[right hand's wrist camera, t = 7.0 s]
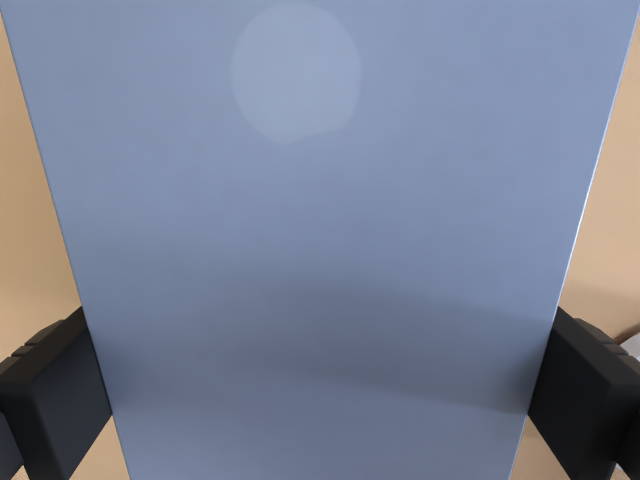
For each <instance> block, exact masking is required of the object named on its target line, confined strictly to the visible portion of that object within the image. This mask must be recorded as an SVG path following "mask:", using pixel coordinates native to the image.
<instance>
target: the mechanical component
mask: <svg viewBox="0 0 640 480" xmlns="http://www.w3.org/2000/svg"><path fill="white" fill-rule="evenodd" d="M620 346H621V347H622V348H623V349H625V350H626V351H627V352H628V353H629V356H633V357H635V358H636V359H637V360H638V361H640V333H639V334H636V335H634V336H632V337H631V338H629V339H628V340H626V341H625V342H623V343H622V344H621V345H620ZM615 468H617V469H620V470H622V468H621V467H620V466H619V465H618V464H616V466H615ZM622 471H623V470H622Z"/></svg>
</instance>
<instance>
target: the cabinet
mask: <svg viewBox="0 0 640 480" xmlns="http://www.w3.org/2000/svg"><path fill="white" fill-rule="evenodd" d="M0 12H1V16H2V19H3V23H4V27H5V30H6V34H7V37H8V41H9V45H10V48H11V52H12V55H13V59H14V63H15V66H16V70H17V73H18V77H19V81H20V84H21V88H22V91H23V95H24V99H25V102H26V106H27V109H28V113H29V117H30V120H31V124H32V127H33V131H34V135H35V138H36V142H37V145H38V149H39V153H40V156H41V160H42V163H43V167H44V171H45V174H46V178H47V181H48V185H49V189H50V192H51V196H52V199H53V203H54V207H55V210H56V214H57V217H58V221H59V225H60V228H61V232H62V235H63V239H64V243H65V246H66V250H67V253H68V257H69V261H70V264H71V268H72V271H73V275H74V279H75V282H76V286H77V289H78V293H79V297H80V300H81V304H82V307H83V311H84V315H85V318H86V322H87V326H88V329H89V333H90V336H91V340H92V344H93V347H94V351H95V354H96V358H97V362H98V365H99V369H100V372H101V376H102V380H103V383H104V387H105V390H106V394H107V398H108V401H109V405H110V408H111V412H112V416H113V419H114V423H115V426H116V430H117V434H118V437H119V441H120V444H121V448H122V452H123V455H124V459H125V462H126V466H127V470H128V473H129V477H130V480H509V479H510V476H511V472H512V469H513V465H514V461H515V458H516V454H517V451H518V447H519V443H520V440H521V436H522V433H523V429H524V425H525V422H526V418H527V415H528V411H529V407H530V404H531V400H532V397H533V393H534V390H535V386H536V382H537V379H538V375H539V372H540V368H541V364H542V361H543V357H544V354H545V350H546V346H547V343H548V339H549V336H550V332H551V328H552V325H553V321H554V318H555V314H556V310H557V307H558V303H559V300H560V296H561V292H562V289H563V285H564V282H565V278H566V274H567V271H568V267H569V264H570V260H571V256H572V253H573V249H574V246H575V242H576V239H577V235H578V231H579V228H580V224H581V221H582V217H583V213H584V210H585V206H586V203H587V199H588V195H589V192H590V188H591V185H592V181H593V177H594V174H595V170H596V167H597V163H598V159H599V156H600V152H601V149H602V145H603V141H604V138H605V134H606V131H607V127H608V123H609V120H610V116H611V113H612V109H613V105H614V102H615V98H616V95H617V91H618V88H619V84H620V80H621V77H622V73H623V70H624V66H625V62H626V59H627V55H628V52H629V48H630V44H631V41H632V37H633V34H634V30H635V26H636V23H637V19H638V16H639V12H640V0H0Z"/></svg>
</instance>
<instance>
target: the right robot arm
mask: <svg viewBox="0 0 640 480" xmlns="http://www.w3.org/2000/svg"><path fill="white" fill-rule="evenodd" d="M111 416H112V412H111V408H110V405H109V401H108V398H107V394H106V390H105V387H104V383H103V380H102V376H101V372H100V369H99V365H98V362H97V358H96V354H95V351H94V347H93V344H92V340H91V336H90V333H89V329H88V326H87V322H86V318H85V315H84V311H83V307H82V306H80V307H79V308H78V309H77V310H76V311H75V312H73V313H72V314H71V315H70V316H69V317H68V318H66V319H65V320H59V321H57V322H56V323H54V324H52V325H50V326H48V327H46V328H44V329H42V330H40V331H39V332H38V333H37V334H35V335H34V336H33V337H32V338H31V339H29V340H28V341H27V342H26V343H25V345H24V346H21V347H20V348H18V349H17V350H16V351H15V352H13V353H12V354H11V357H7V358H6V359H5V360H4V361H2V362H1V363H0V480H11V479H12V477H13V476H14V475H15V474H16V472H17V471H18V470H19V469H20V468H21V466H22V465H24V468H25V470H26V472H27V475H28V477H29V479H30V480H69V479H70V477H71V476H72V474H73V473H74V471H75V470H76V468H77V467H78V465H79V464H80V462H81V461H82V459H83V458H84V456H85V455H86V453H87V452H88V450H89V449H90V447H91V446H92V444H93V443H94V441H95V440H96V438H97V437H98V435H99V434H100V432H101V431H102V429H103V428H104V426H105V425H106V423H107V422H108V420H109V419H110V417H111ZM528 416H529V418H530V419H531V421H532V422H533V424H534V425H535V427H536V428H537V430H538V431H539V433H540V434H541V436H542V437H543V439H544V440H545V442H546V443H547V445H548V446H549V448H550V449H551V451H552V452H553V454H554V455H555V457H556V458H557V460H558V461H559V463H560V464H561V466H562V467H563V469H564V470H565V472H566V473H567V475H568V476H569V478H570V479H571V480H610V478H611V476H612V473H613V471H614V469H615V466H616V464H618V465H619V466H620V467H621V468H622V470H623V471H624V472H625V473H626V474H627V476H628V477H629V478H630V479H631V480H640V361H638V360H637V359H636V358H635V357H633V356H629V353H628V352H627V351H626V350H625V349H623V348H622V347H621V346H620V345H616V344H615V341H614V340H612V339H611V338H610V337H609V336H607V335H606V334H605V333H604V332H602V331H601V330H600V329H598V328H596V327H594V326H593V325H591V324H589V323H587V322H585V321H583V320H581V319H579V318H572V317H571V316H570V315H569V314H567V313H566V312H565V311H564V310H563V309H561V308H560V307H559V306H558V307H557V310H556V314H555V318H554V321H553V325H552V328H551V332H550V336H549V339H548V343H547V346H546V350H545V354H544V357H543V361H542V364H541V368H540V372H539V375H538V379H537V382H536V386H535V390H534V393H533V397H532V400H531V404H530V407H529V411H528Z"/></svg>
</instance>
